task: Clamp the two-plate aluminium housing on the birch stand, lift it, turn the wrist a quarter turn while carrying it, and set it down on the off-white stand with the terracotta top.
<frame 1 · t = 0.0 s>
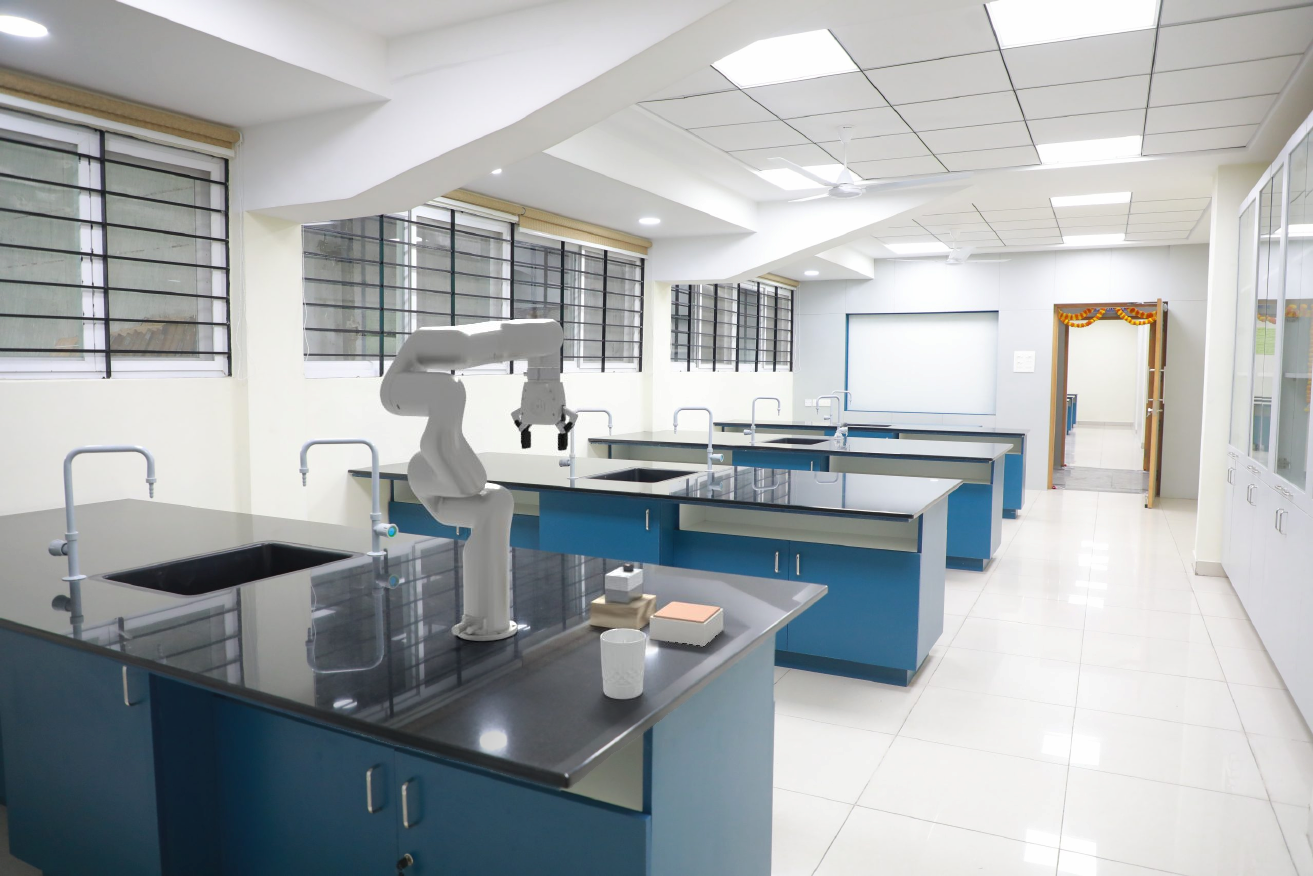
hand: (544, 449, 195), 37 cm above the countertop, tool pointing down, fingers open, 9 cm apart
housing: (624, 598, 184), point 5 cm above the countertop, touching stand a
stand a: (623, 621, 185), on the countertop
stand b: (686, 634, 176), on the countertop
white cup: (623, 693, 144), on the countertop
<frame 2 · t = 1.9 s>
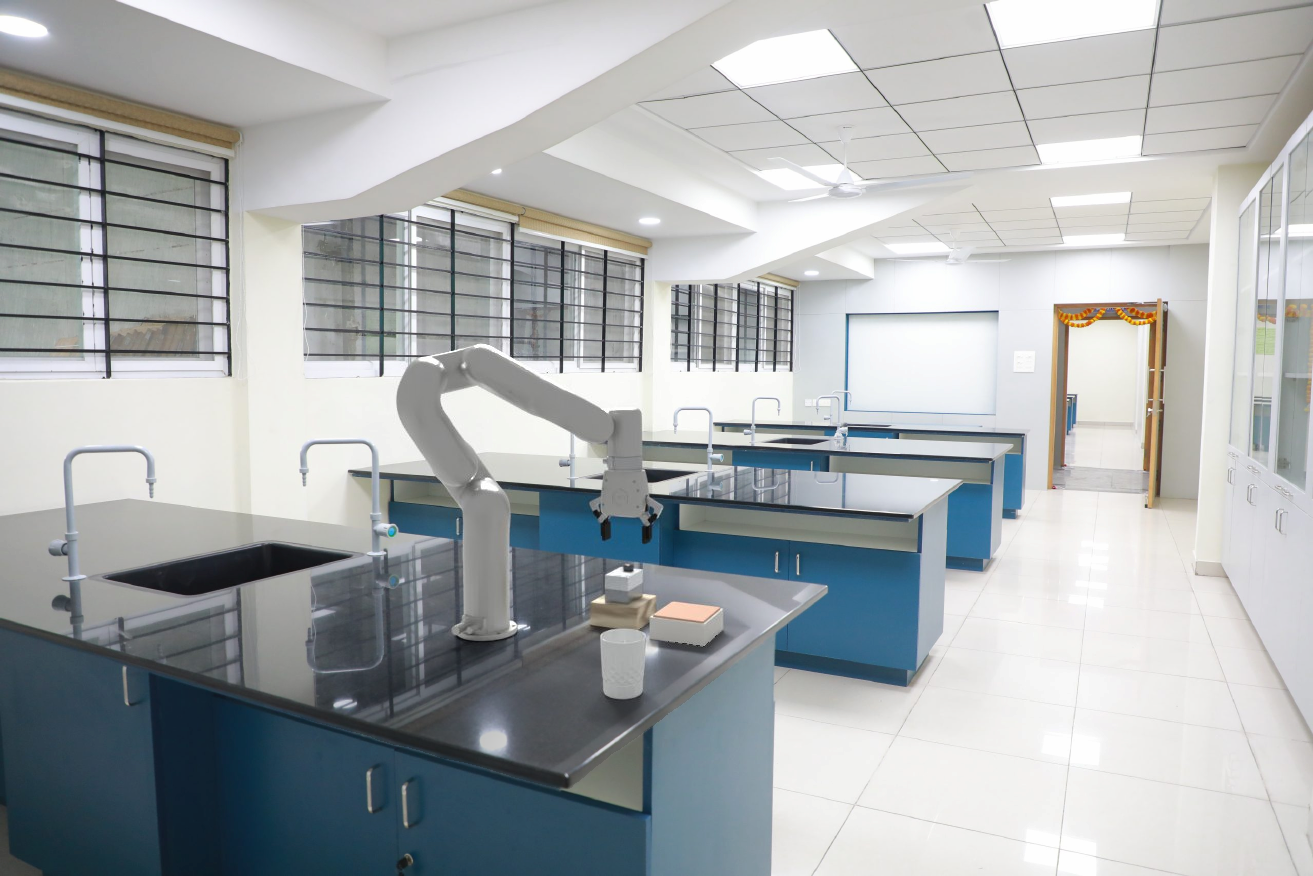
hand: (626, 541, 183), 18 cm above the countertop, tool pointing down, fingers open, 9 cm apart
nothing on the countertop moved.
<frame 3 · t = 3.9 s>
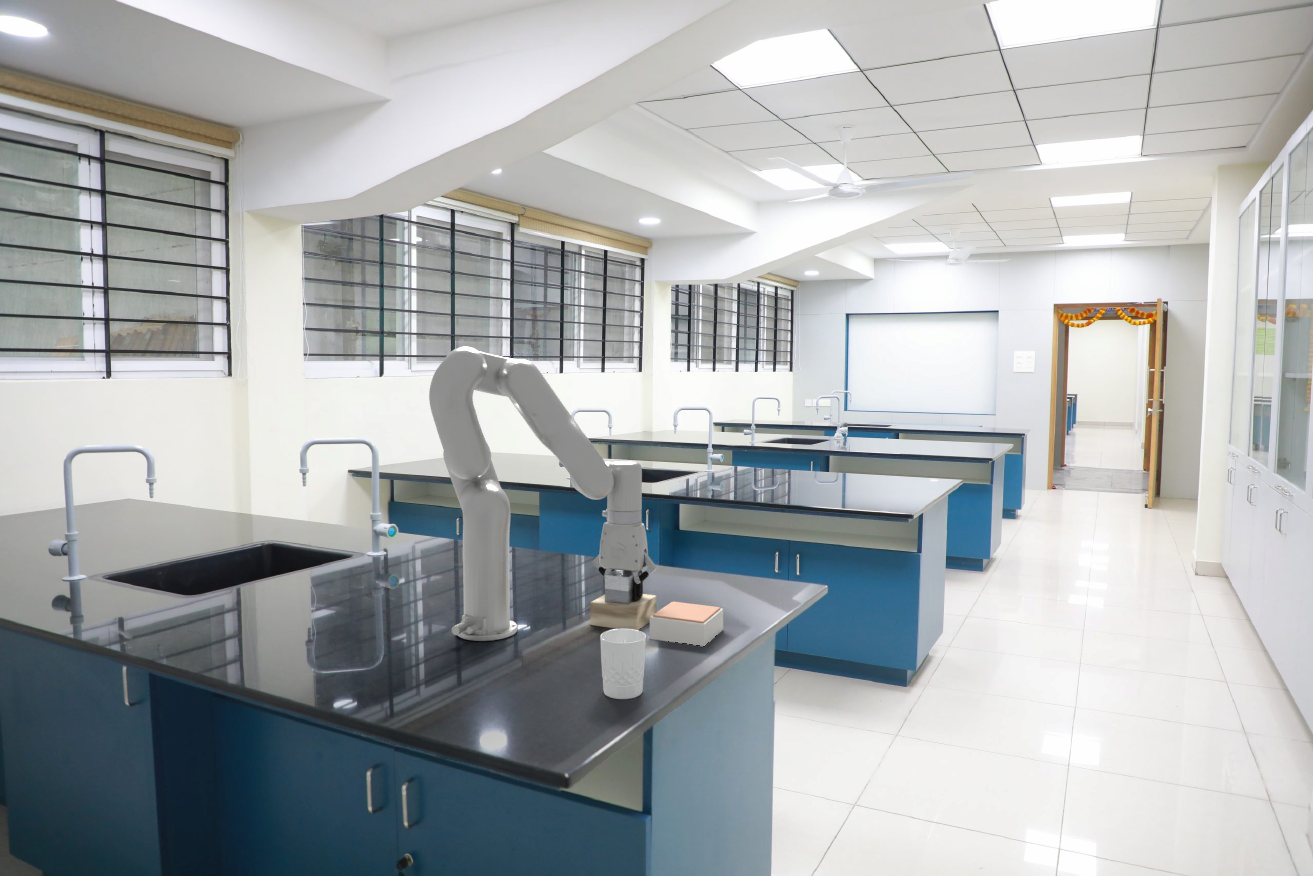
hand: (624, 597, 184), 5 cm above the countertop, tool pointing down, fingers closed on housing, 5 cm apart
housing: (624, 598, 184), point 5 cm above the countertop, touching gripper, stand a
everything else where it was.
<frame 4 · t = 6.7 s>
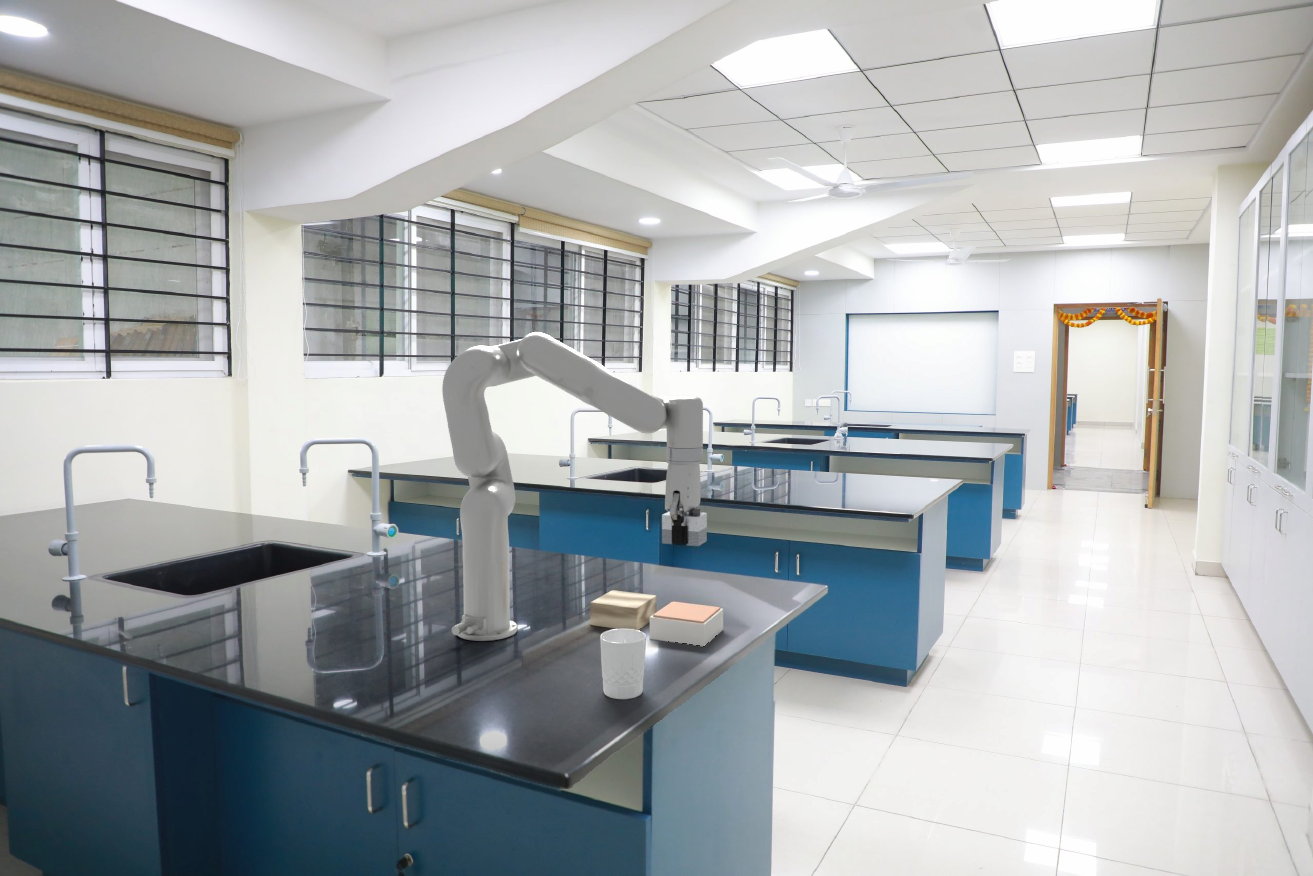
hand: (684, 540, 175), 20 cm above the countertop, tool pointing down, fingers closed on housing, 5 cm apart
housing: (684, 542, 175), point 20 cm above the countertop, touching gripper
everything else where it was.
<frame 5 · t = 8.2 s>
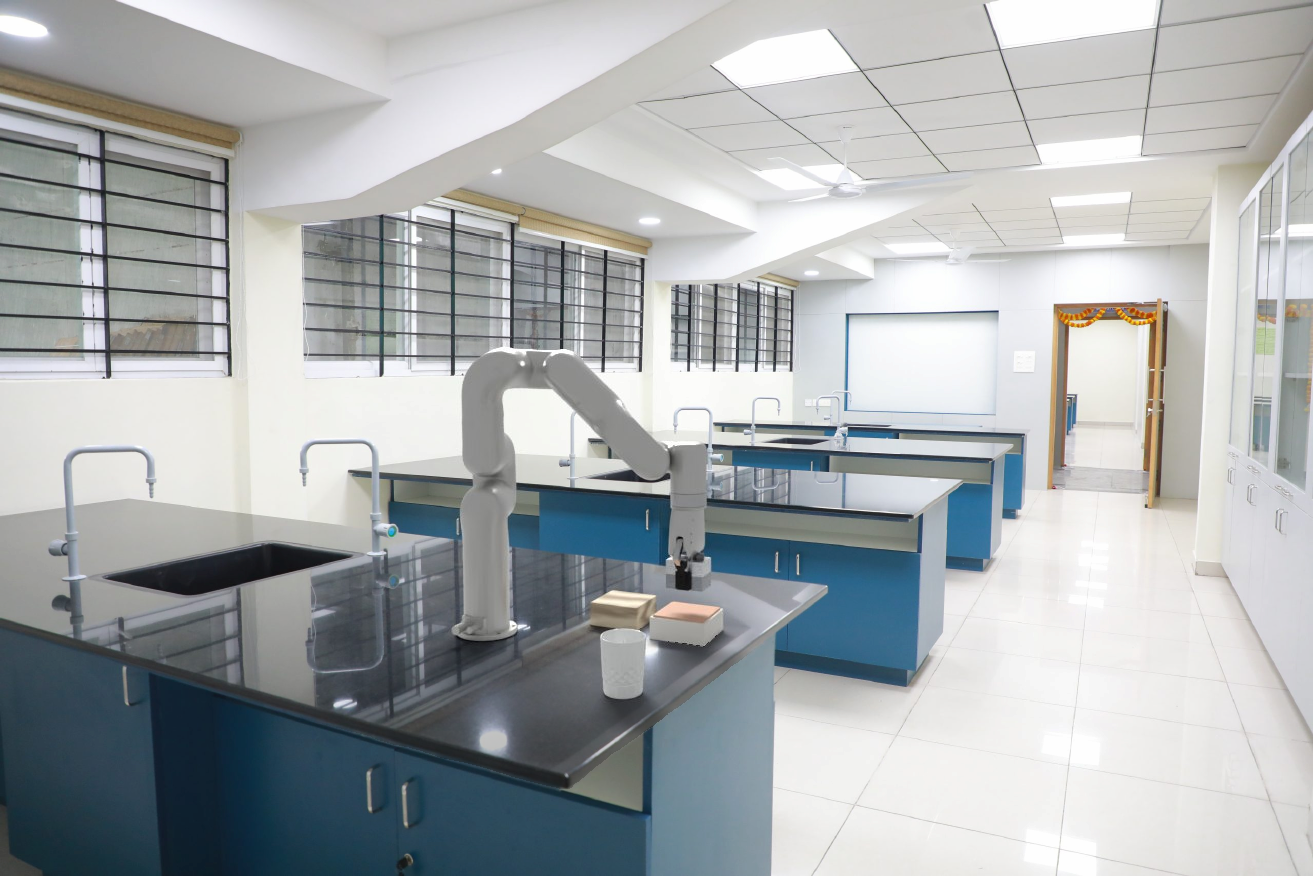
hand: (688, 585, 175), 10 cm above the countertop, tool pointing down, fingers closed on housing, 5 cm apart
housing: (688, 586, 175), point 10 cm above the countertop, touching gripper
everything else where it was.
when the fingers open (7 cm above the countertop, at t = 9.6 s): housing drops 2 cm, resting on stand b.
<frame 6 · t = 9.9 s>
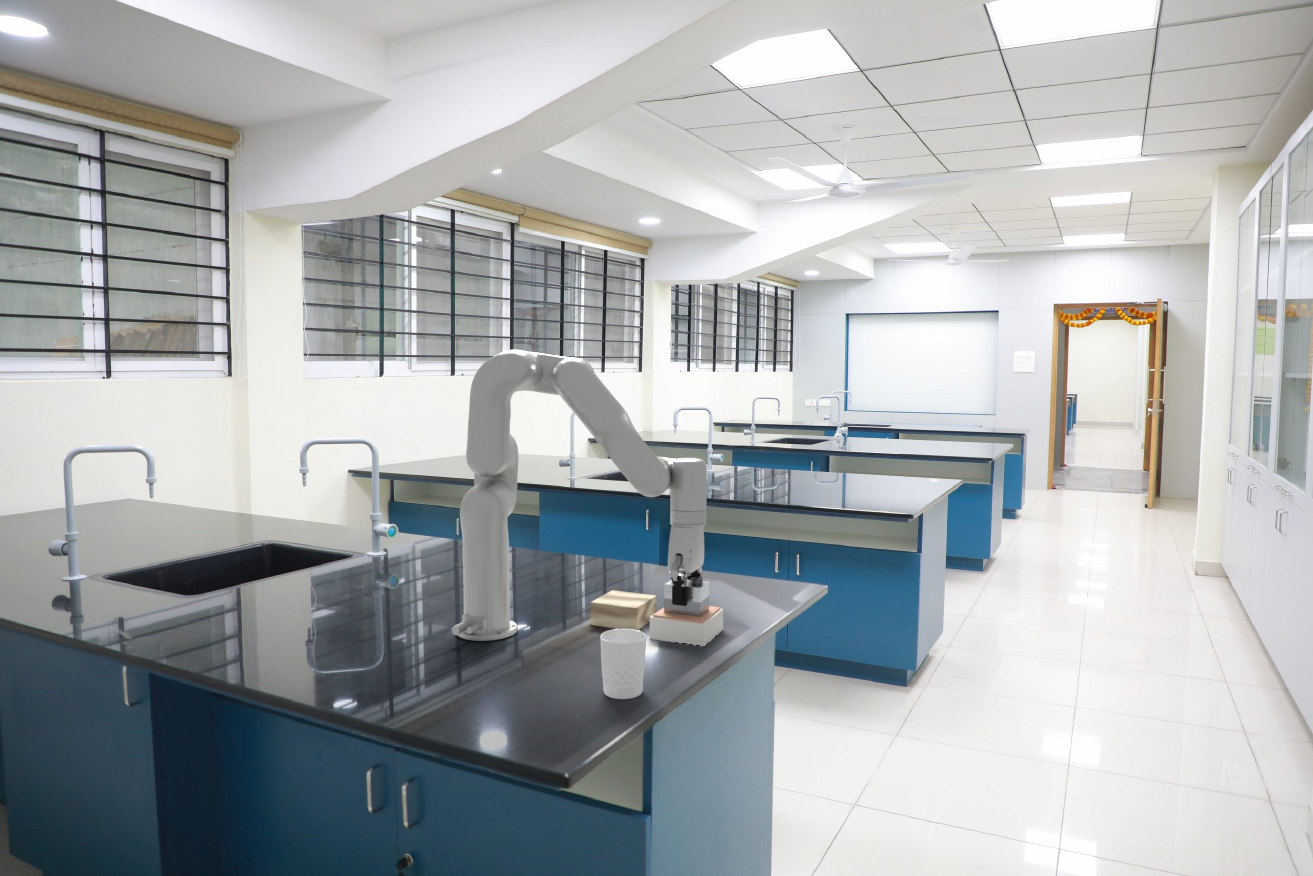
hand: (687, 599, 175), 8 cm above the countertop, tool pointing down, fingers open, 8 cm apart
housing: (686, 611, 175), point 5 cm above the countertop, touching stand b
everything else where it was.
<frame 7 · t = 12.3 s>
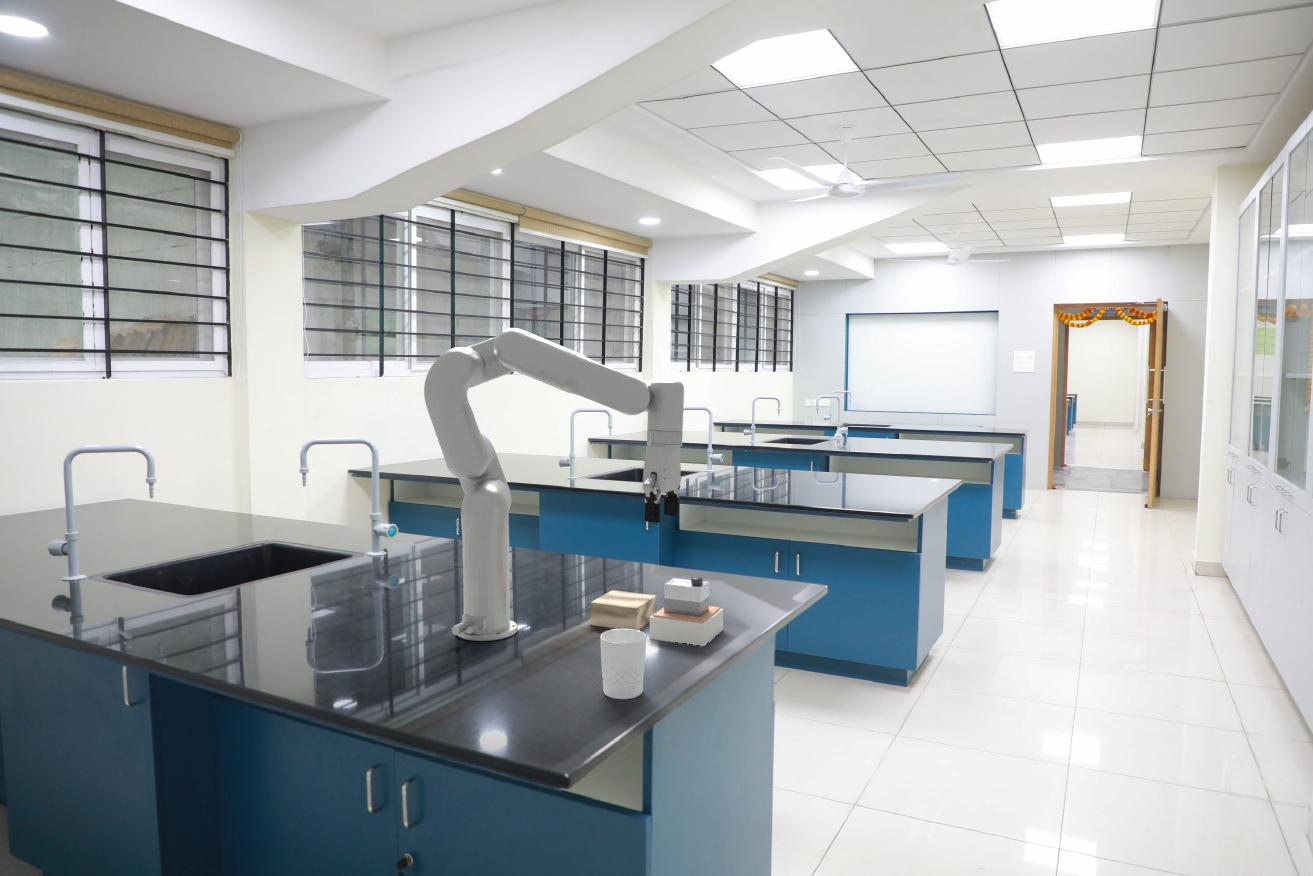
hand: (661, 518, 178), 24 cm above the countertop, tool pointing down, fingers open, 9 cm apart
nothing on the countertop moved.
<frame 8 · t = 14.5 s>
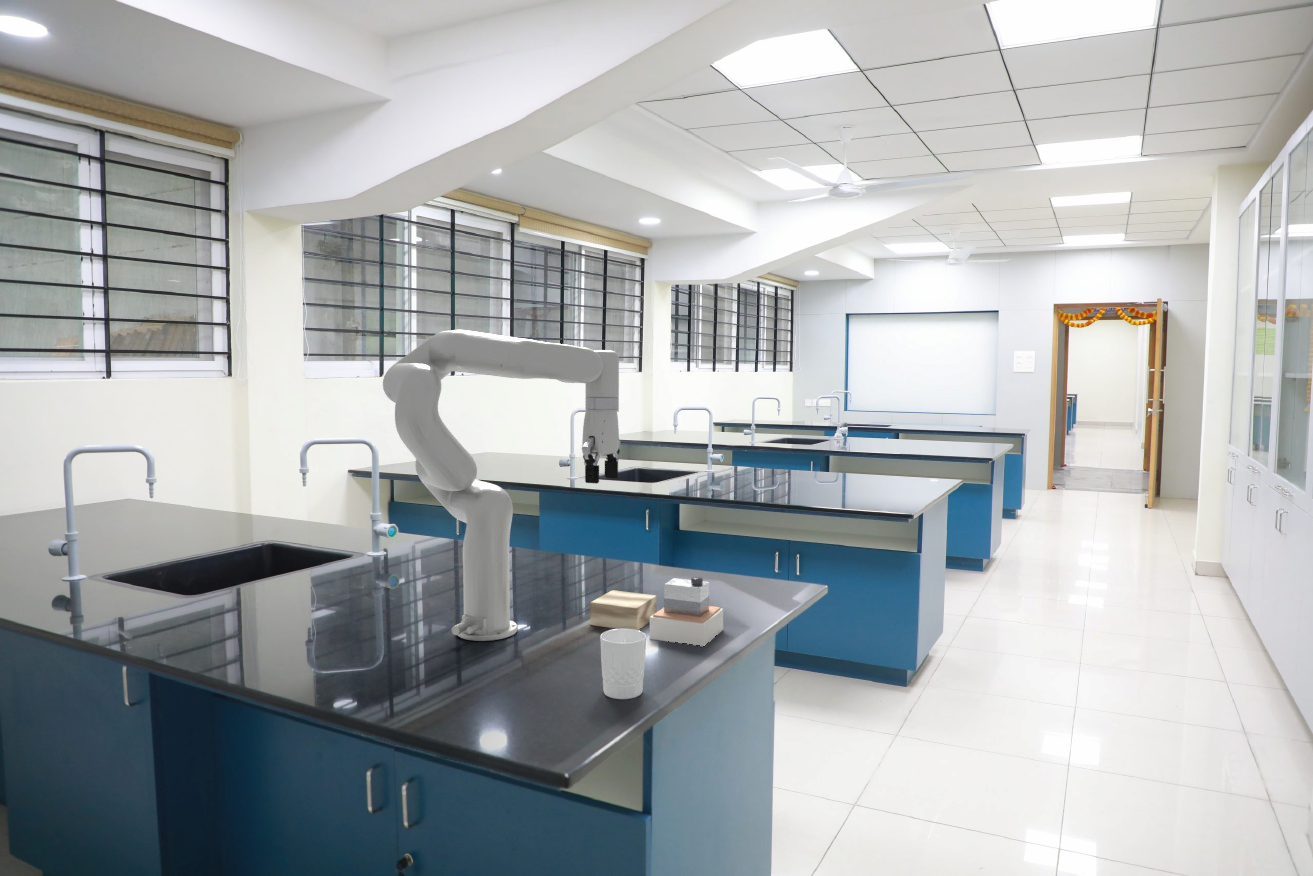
hand: (601, 480, 190), 30 cm above the countertop, tool pointing down, fingers open, 9 cm apart
nothing on the countertop moved.
at the end: housing inside the target area on the stand b (0.1 cm from its centre), point 5.0 cm above the stand b's base; housing tilted 0°; the gripper is holding nothing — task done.
